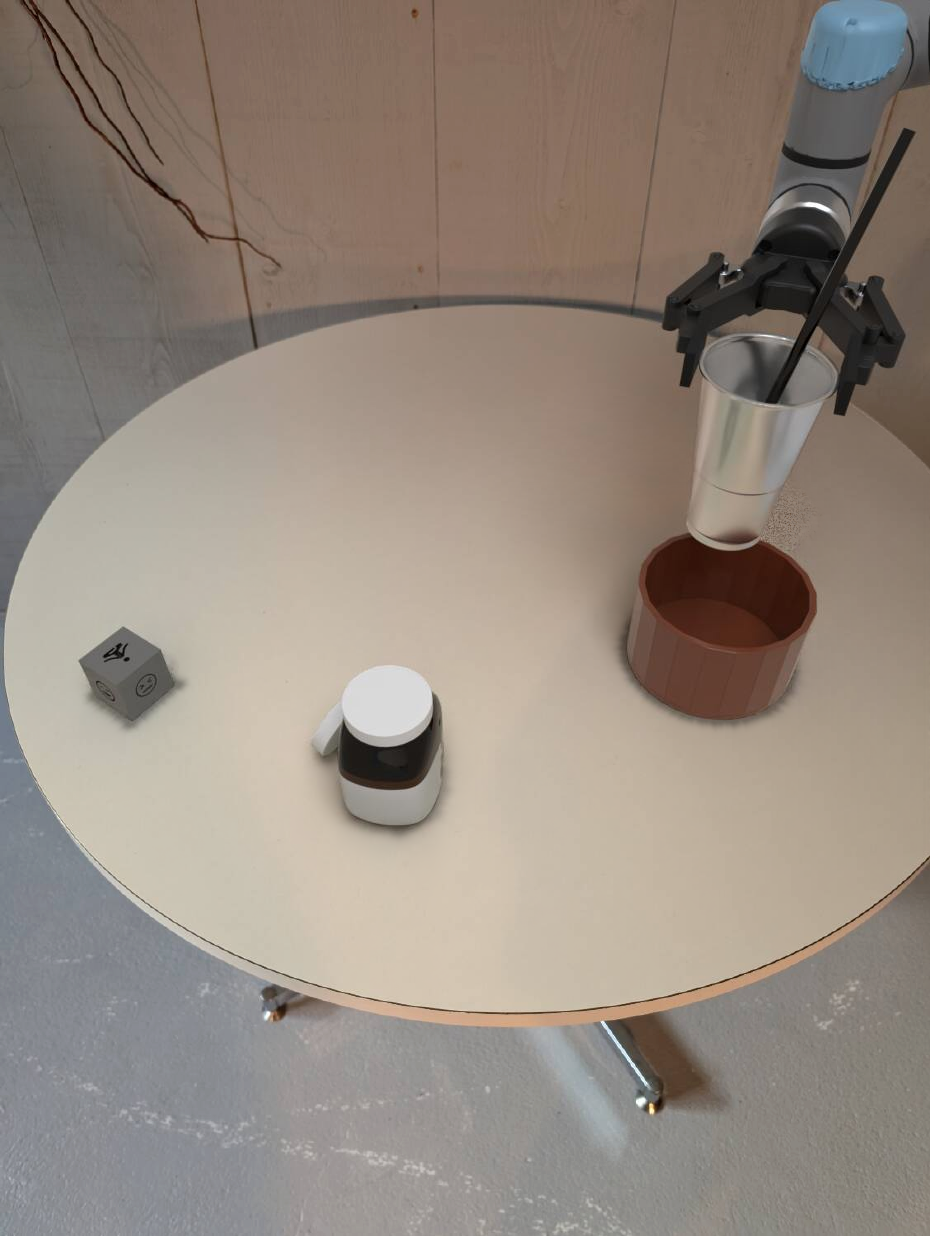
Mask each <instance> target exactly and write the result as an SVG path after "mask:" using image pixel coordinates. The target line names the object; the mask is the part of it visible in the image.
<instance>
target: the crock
mask: <svg viewBox="0 0 930 1236" xmlns="http://www.w3.org/2000/svg"><path fill="white" fill-rule="evenodd" d="M635 591H636V592H635V597H634V602H633V608H632V613H631V620H630V625H629V630H628V635H627V642H626V655H627V659H628V663H629V666H630V668H631V670H632V673H633V674H634V676H635V677H636V679H637V680H638V682H639V683H640V684H641V685H642V687H643V688H644V689H645V690H646V691H648V693H649V694H651V695H652V696H653V697H655V698H656V699H657V700H658V701H660V702H662V703H663V704H665V705H667V707H670V708H672V709H675V710H677V711H679V712H682V713H684V714H686V715H691V716H694V717H698V718H703V719H708V720H709V719H710V720H737V719H741V718H746V717H750V716H753V715H756V714H758V713H761V712H763V711H765V710H766V709H769V708H770V707H772V706H773V705H774V704H775V703H777V701H779V699H780V698H781V697H782V696H783V694H784V693H785V691H786V690H787V689H788V686H789V683H790V681H791V679H792V678H793V675H794V672H795V669H796V667H797V665H798V662H799V660H800V657H801V654H802V652H803V649H804V647H805V644H806V641H807V639H808V637H809V635H810V632H811V629H812V626H813V624H814V621H815V618H816V616H817V613H818V593H817V591H816V589H815V586H814V584H813V582H812V580H811V578H810V576H809V574H808V572H807V571H805V569H804V568H803V567H802V566H801V565H800V564H799V563H798V562H797V561H796V560H795V559H794V558H793V557H792V556H791V555H789V554H787V553H786V552H784V551H782V550H781V549H780V548H778V547H776V546H775V545H773V544H771V543H770V542H767V541H765V540H761V539H760V540H759V541H758V543H756V544H755V545H754V546H752V547H750V548H748V549H745V550H740V551H722V550H717V549H714V548H711V547H708V546H706V545H704V544H702V543H701V542H699V541H698V540H696V539H695V538H694V537H693V536H692V535H691V534H690V532H689V531H688V532H685V533H682V534H679V535H675V536H672V537H669V538H668V539H666V540H665V541H663V542H662V543H660V544H658V545H657V546H655V547H654V548H652V549H651V550H650V552H649V553H648V555H646V557H645V558H644V560H643V561H642V563H641V565H640V568H639V575H638V579H637V585H636V590H635Z"/></svg>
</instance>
